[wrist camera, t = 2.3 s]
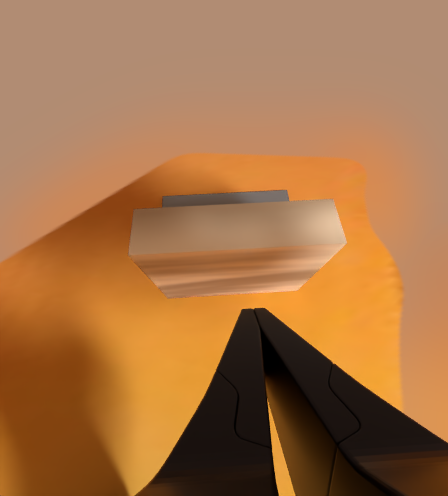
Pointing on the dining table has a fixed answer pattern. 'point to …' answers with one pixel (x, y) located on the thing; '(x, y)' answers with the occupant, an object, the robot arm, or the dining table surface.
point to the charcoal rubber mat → (225, 198)
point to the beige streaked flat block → (235, 246)
